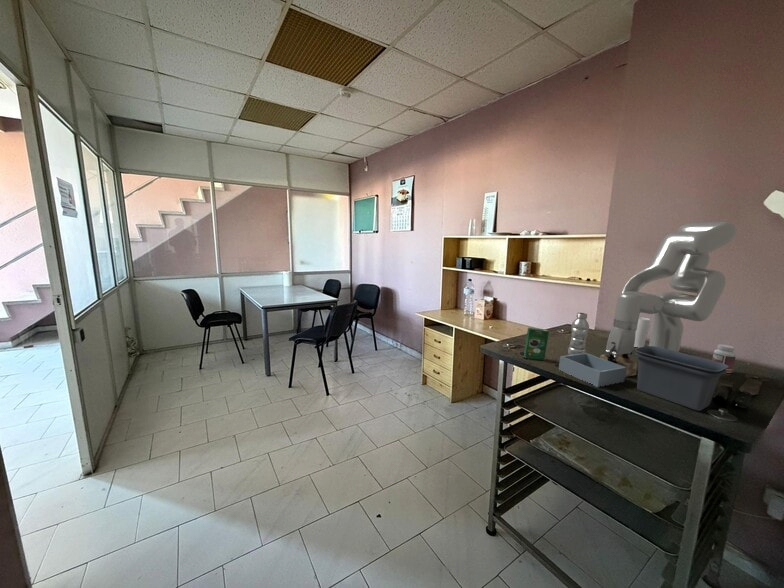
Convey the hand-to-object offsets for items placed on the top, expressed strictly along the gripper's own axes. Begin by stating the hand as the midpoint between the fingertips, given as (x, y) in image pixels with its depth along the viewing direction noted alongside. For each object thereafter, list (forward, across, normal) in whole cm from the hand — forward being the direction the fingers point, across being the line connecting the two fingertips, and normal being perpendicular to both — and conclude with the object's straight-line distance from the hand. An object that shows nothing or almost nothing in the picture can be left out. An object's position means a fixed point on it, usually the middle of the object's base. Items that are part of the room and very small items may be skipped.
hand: (617, 368), depth 124 cm
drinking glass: (+1, -43, -17) cm, 47 cm away
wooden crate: (+1, 0, 0) cm, 1 cm away
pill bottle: (+1, -44, +14) cm, 46 cm away
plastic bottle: (+1, +4, -15) cm, 16 cm away
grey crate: (+1, +16, 0) cm, 16 cm away
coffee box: (+2, +23, -20) cm, 30 cm away
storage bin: (+1, +5, +21) cm, 21 cm away
